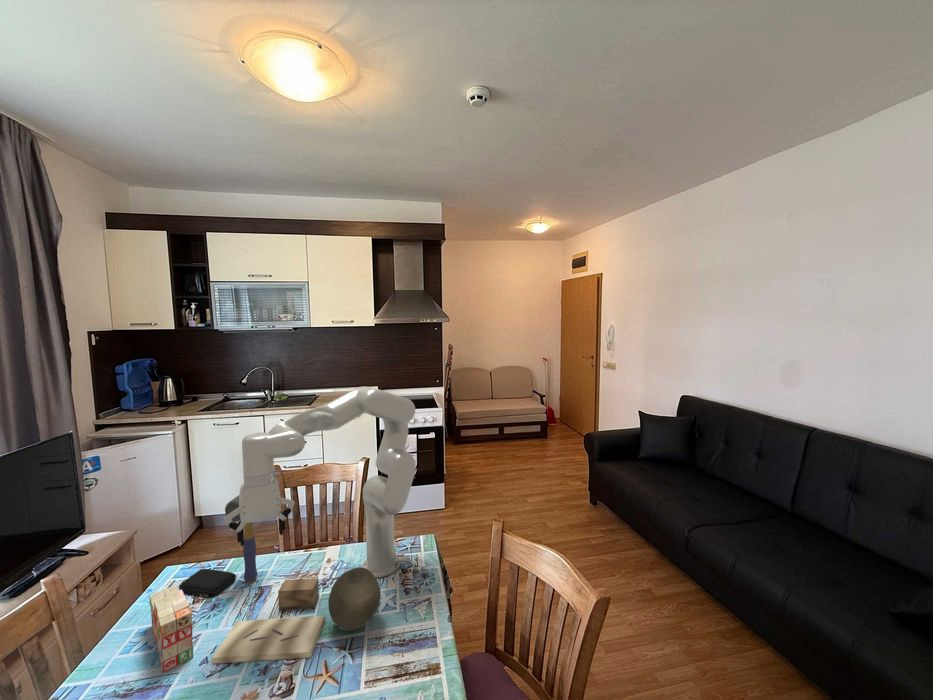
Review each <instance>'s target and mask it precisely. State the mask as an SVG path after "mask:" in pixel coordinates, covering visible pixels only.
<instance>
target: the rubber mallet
mask: <svg viewBox="0 0 933 700" xmlns="http://www.w3.org/2000/svg"><path fill="white" fill-rule="evenodd" d="M238 507H239V495H237V496H235V497H234V498H233V499H231V500H230V501H228V503H227V504H226V505H225V508H224V511H225V516H226V515H228V514H229V513H231V512H232V511H234V510H235V509H237V508H238ZM239 520H240V515H239V514H238V515H236V516H235V517H234V518H232V521H234V522H236V523H238V522H239ZM243 532H244V545H243V546H242V554H243V559H244V561H243V562H244V574H243V580H244V581H245V582H246V583H253V582H254V581H256V580H257V578H258V574H259V573H258V569H257V561H256V560H257V559H256V558H257V545H256V538H255V535H254V534H255V533H254V522H251V523H246V525H245V526H244V527H243Z"/></svg>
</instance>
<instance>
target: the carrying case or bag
mask: <svg viewBox="0 0 933 700" xmlns="http://www.w3.org/2000/svg"><path fill="white" fill-rule="evenodd" d="M236 578H237V575H236V573H234V572H232V571H224V570H216V569H211V568H201V569H199V570H198V571H195V572H194V573H193V574H192V575H190V576H189V577H187V578H186V579H185V580H183V581H182V582H181V583H180V584H179V586H178V590H181V589H182V591H183V593H187V594H194V595H198V596H199V597H200V598H202V597H215V596H217V595H219V594H220V593H221V592H222V591H224V590H225V589H226V588H227V587H229V586H230V585H231V584H232V583H234V581H235V580H236ZM228 585H229V586H228Z"/></svg>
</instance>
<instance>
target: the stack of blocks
mask: <svg viewBox="0 0 933 700" xmlns="http://www.w3.org/2000/svg"><path fill="white" fill-rule="evenodd" d="M187 600H188V599H187V597H186V595H185V592H183V591H182V589H181V590H179V587H178V585H177V584H174V585H171V586H170V587H166V588H164V589H162V590H159V591H157V592H154V593H151V594H149V606H150V616H151V617H150V618H151V628H152V632H153V636H154V640H155V644H156V647H157V651H158V655H159V662H160V666H161V670H162V673H163V674H164V673H166V672H168V671H170V670H172V669H174V668H176V667H178V666H180V665H182V664H184V663H186V662H188V661H189V660H191V659H193V658H194V645H193V644H194V643H193V615H192V614H193V613H192V610H191V608H190V605H189V603H188V601H187Z"/></svg>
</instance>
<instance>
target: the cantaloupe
mask: <svg viewBox="0 0 933 700" xmlns="http://www.w3.org/2000/svg"><path fill="white" fill-rule="evenodd" d="M381 593H382V591H381V587H380V583H379V581H378V578H375V576H374V575H373V574H372V572H371V571H369V570H368V569H366V568H362V566H361V567H354V568H351V569H349V570H347V571H345V572H343V573H342V574H340V576H338V577H337V578H336V580H335V581H334V583H333V585H332V586H331V589H330V592H329V596H328V603H327V604H328V612H329V616H330V618H331V620H332V622H333V623H334V625H336V627H337V628H339V629H340V630H344V631H355V630H358V629H361V628H362V627H364V626H365V625H366V624H367V623H368V622H369V621H370V620H371V619H372V618H373V617H374V615H375V614H376V612H377V610H378V609H379V606H380V602H381V597H382V596H381V595H382V594H381Z"/></svg>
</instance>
